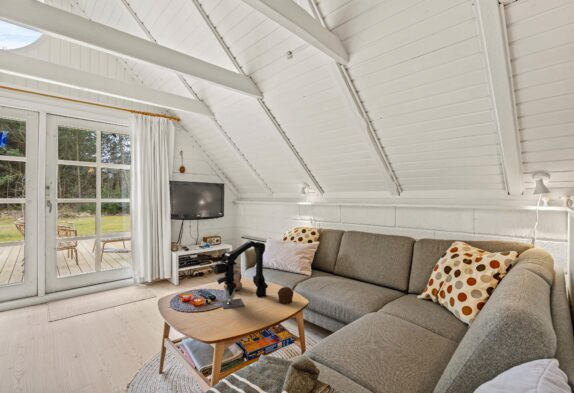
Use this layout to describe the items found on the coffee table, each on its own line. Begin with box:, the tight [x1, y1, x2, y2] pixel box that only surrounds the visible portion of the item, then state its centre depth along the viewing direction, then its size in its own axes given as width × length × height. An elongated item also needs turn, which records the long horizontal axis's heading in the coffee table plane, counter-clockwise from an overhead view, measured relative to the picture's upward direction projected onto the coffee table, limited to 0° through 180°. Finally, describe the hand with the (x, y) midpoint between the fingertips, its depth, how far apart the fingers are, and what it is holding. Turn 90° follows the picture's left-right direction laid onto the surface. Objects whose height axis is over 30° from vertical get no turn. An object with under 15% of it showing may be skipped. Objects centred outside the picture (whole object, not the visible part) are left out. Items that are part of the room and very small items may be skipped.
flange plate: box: [220, 297, 245, 310], centre depth 197 cm, size 14×12×5 cm
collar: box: [224, 288, 236, 299], centre depth 196 cm, size 6×6×5 cm
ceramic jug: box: [223, 268, 243, 292], centre depth 227 cm, size 18×14×14 cm
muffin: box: [277, 286, 294, 305], centre depth 201 cm, size 12×11×10 cm
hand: (229, 294), depth 196 cm, fingers closed on collar, 6 cm apart
